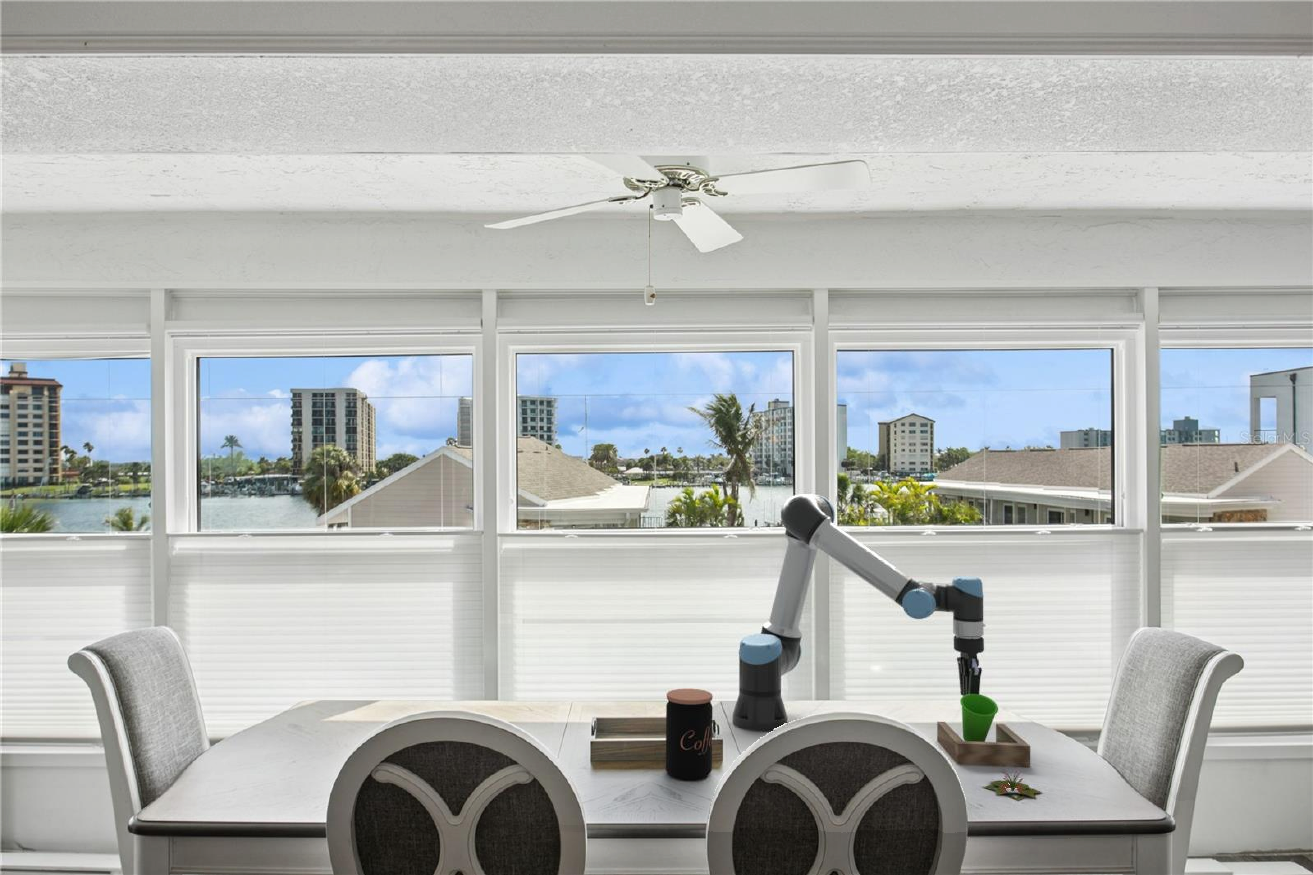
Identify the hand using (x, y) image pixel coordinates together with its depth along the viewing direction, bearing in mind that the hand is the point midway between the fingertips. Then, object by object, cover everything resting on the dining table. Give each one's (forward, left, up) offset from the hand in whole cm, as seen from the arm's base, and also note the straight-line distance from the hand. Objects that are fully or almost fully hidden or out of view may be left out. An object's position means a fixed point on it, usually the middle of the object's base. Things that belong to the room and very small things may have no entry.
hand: (970, 725), depth 219 cm
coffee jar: (-73, -33, -4) cm, 81 cm away
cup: (-1, -5, -3) cm, 5 cm away
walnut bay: (-1, -12, -4) cm, 12 cm away
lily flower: (-2, -36, -4) cm, 36 cm away
